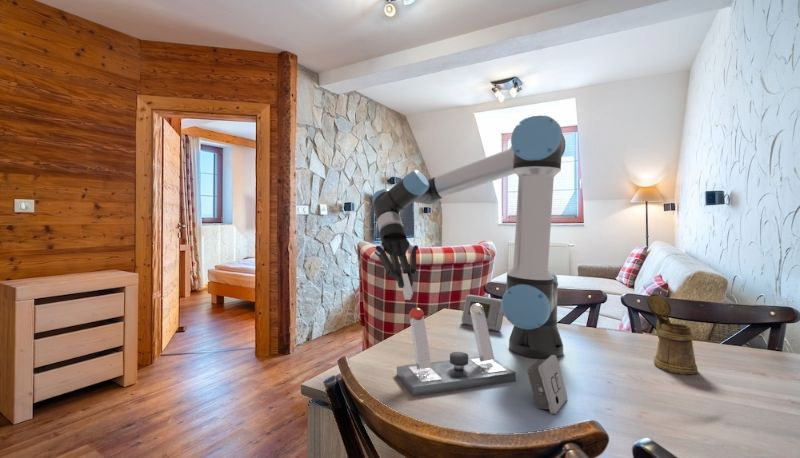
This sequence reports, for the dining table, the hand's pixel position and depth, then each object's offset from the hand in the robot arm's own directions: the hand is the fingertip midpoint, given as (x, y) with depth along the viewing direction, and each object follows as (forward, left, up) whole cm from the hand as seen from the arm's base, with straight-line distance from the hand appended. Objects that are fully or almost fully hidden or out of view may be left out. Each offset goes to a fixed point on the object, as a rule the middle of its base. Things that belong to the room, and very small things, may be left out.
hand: (408, 296), depth 97 cm
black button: (-12, +6, -15) cm, 20 cm away
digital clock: (-26, -39, -19) cm, 50 cm away
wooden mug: (-69, -5, -19) cm, 72 cm away
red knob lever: (-4, +9, -16) cm, 19 cm away
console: (-11, +6, -18) cm, 22 cm away
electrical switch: (-29, +18, -19) cm, 39 cm away
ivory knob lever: (-20, +3, -16) cm, 26 cm away
